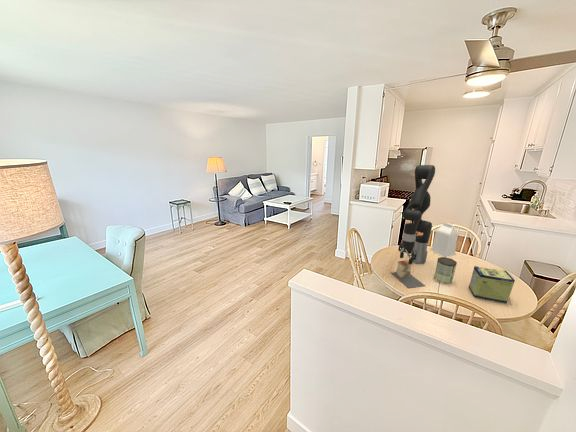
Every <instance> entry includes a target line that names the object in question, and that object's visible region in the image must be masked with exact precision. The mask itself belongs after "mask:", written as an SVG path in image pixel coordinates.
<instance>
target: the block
mask: <svg viewBox="0 0 576 432" xmlns="http://www.w3.org/2000/svg"><path fill="white" fill-rule="evenodd" d="M408 263H409V259H408V260H407V259H405V260H398V261H397V265H396V266H397V267H396V272H397V273H396V274H397V275H398V276H399V277H409V276H410V274H411V270H412V266H413V263H412V264H408Z"/></svg>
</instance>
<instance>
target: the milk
mask: <svg viewBox="0 0 576 432" xmlns="http://www.w3.org/2000/svg"><path fill="white" fill-rule="evenodd" d="M458 235H459V233H458V232H457V230H456V229H455V225H454V224H452V223H448V222H444V223H443V224H441V226H440V227H439V228H438V229H437V230H436V231H435V235H434V239H433V242H432V246H431V250H430V252H431V251H433V252H432V253H434V252H435V253H434V254H436V253H437V255H438V254H439V256H441V255H442V256H441V257H443V256H444V257H445V258H448V257H447V256H449V257H451V256H450V255H452V256H454V254H455V255H456V251H457V250H456V249H457V242H458Z"/></svg>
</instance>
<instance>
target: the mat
mask: <svg viewBox="0 0 576 432" xmlns="http://www.w3.org/2000/svg"><path fill="white" fill-rule="evenodd" d="M396 273H397V271H394V272H391V274H392V276H394V278H396V279H397V280H398V281H399V282H400V283H401V284H402V285H404V286H405V287H406V288H407V289H414V288H421V287H426V285H425V284H424V283H423V282H422V281H420V280H419V279H418V278H417V277H415V276H413V275H412V273H410V276H409V277H399V276H398V275H397V274H396Z"/></svg>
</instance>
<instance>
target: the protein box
mask: <svg viewBox="0 0 576 432" xmlns="http://www.w3.org/2000/svg"><path fill="white" fill-rule="evenodd" d="M515 281H516V280H515V279H514V277H513V276H512V275H511V274H510V273H509V272H508V271H507V270H504V269H498V268H491V267H482V266H477V265H474V267H473V269H472V274H471V277H470V281H469V286H468V289H469V291H470V292H471V294H472V296H473V297H474V298H477V299H482V300H488V301H493V302H497V303H498V302H499V303H502V302H503V304H508V302H509V300H510V297H511V293H512V289H513V287H514V284H515Z"/></svg>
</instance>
